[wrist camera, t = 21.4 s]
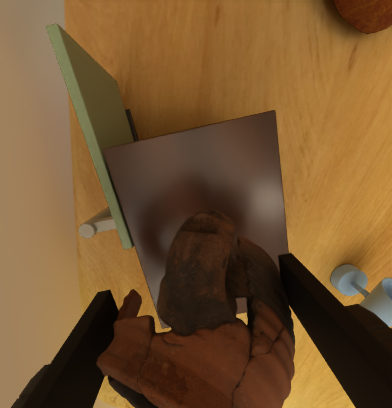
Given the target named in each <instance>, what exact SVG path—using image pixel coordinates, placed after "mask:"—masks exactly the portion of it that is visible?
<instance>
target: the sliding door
mask: <svg viewBox="0 0 392 408" xmlns="http://www.w3.org/2000/svg"><path fill="white" fill-rule="evenodd" d="M46 29H47V31H48V34H49V37H50V40H51V43H52V45H53V49H54V51H55V54H56V57H57V60H58V63H59V66H60V68H61V71H62V74H63V77H64V80H65V83H66V86H67V89H68V91H69V94H70V97H71V100H72V103H73V106H74V108H75V111H76V114H77V117H78V120H79V123H80V126H81V128H82V131H83V134H84V137H85V140H86V143H87V146H88V148H89V151H90V154H91V157H92V160H93V163H94V166H95V168H96V171H97V174H98V177H99V180H100V183H101V186H102V188H103V191H104V194H105V197H106V200H107V203H108V206H109V207H108V208H106V209H104V210H103V211H101V212H100V213H98V214H97V215H95V216H94V217H92V218H91V219H89V220H88V221H86V222H85V223H83V224H82V225H80V227H79V230H78V231H79V234H80V235H81V236H82V237H84V238H91V237H93V236H94V235H95V234H96V233H98V232H103V231H108V230H112V229H117V231H118V234H119V237H120V240H121V243H122V245H123V248H124V249H129V248H132V247H133V246H134V243H133V240H132V236H131V233H130V230H129V227H128V224H127V221H126V218H125V215H124V212H123V209H122V206H121V203H120V200H119V197H118V194H117V191H116V188H115V185H114V182H113V179H112V176H111V173H110V170H109V167H108V164H107V161H106V158H105V155H104V152H103V149H104V148H108V147H112V146H117V145H121V144H126V143H130V142H134V140H133V136H132V133H131V129H130V126H129V122H128V119H127V115H126V112H125V108H124V105H123V101H122V98H121V94H120V91H119V87H118V84H117V81H116V80H115V79H114V78H113V77H112V76H111V75H110V74H109V73H108V72H107V71H106V70H105V69H104V68H103V67H102V66H100V65H99V64H98V63H97V62H96V61H95V60H94V59H93V58H92V57H91V56H90V55H89V54H88V53H87V52H86V51H85V50H84V49H83V48H82V47H81V46H80V45H79V44H78V43H77V42H76V41H75V40H74V39H73V38H72V37H71V36H70V35H68V34H67V33H66V32H65V31H64V30H63V29H62V28H61V27H60V26H59V25H58V24H52V25H48V26H46Z"/></svg>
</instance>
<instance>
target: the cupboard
mask: <svg viewBox="0 0 392 408" xmlns="http://www.w3.org/2000/svg"><path fill="white" fill-rule="evenodd" d="M125 112H126V115H127V119H128V122H129V126H130V129H131V133H132V136H133V140H134V142H130V143H126V144H121V145H117V146H112V147H108V148H104V149H103V152H104V155H105V158H106V161H107V164H108V167H109V170H110V173H111V176H112V179H113V182H114V185H115V188H116V191H117V194H118V197H119V200H120V203H121V206H122V209H123V212H124V215H125V218H126V221H127V224H128V227H129V230H130V233H131V236H132V240H133V243H134V246H135V249H136V252H137V255H138V258H139V261H140V264H141V267H142V270H143V273H144V276H145V279H146V282H147V285H148V288H149V291H150V294H151V297H152V300H153V303H154V306H155V309H156V312H157V301H158V296H159V289H160V282H161V280H162V278H163V277H164V276H165V271H166V264H167V258H168V254H169V249H170V247H171V244H172V242H173V239H174V237H175V235H176V233H177V232H178V230H179V229H180V227H181V226H182V224H183V223H184V222H185V221H186V220H187V219H188V218H189V217H191V216H193V215H194V214H195V213H197V212H201V211H202V212H203V211H207V212H210V211H213V210H216V211H220V212H222V213H223V214H224V215H225V216H227V217H228V218H230V219H231V220H233V221H234V222H235V225H236V230H235V236H234V241H235V243H236V245H237V239H238V237H240V236H242V237H244V238H246V239H248V240H250V241H251V242H253V243H255V244H256V245H258V246H260V247H261V248H262V249H263V250H265V252H267V253H268V255H269V256H270V257H271V258H272V260H273V261H274V262H275V264H276V265H277V268H278V270H279V272H280V269H279V260H278V255H283V254H288V253H289V251H288V241H287V230H286V219H285V208H284V198H283V187H282V176H281V166H280V155H279V144H278V134H277V123H276V112H275V110H272V111H267V112H263V113H259V114H254V115H250V116H245V117H241V118H236V119H232V120H228V121H223V122H219V123H214V124H210V125H205V126H201V127H197V128H192V129H188V130H183V131H179V132H174V133H170V134H166V135H161V136H157V137H152V138H148V139H143V140H139V141H138V137H137V134H136V130H135V127H134V123H133V119H132V116H131V112H130V110H129V109H128V110H125ZM236 302H237V307H238V310H237V313H236V314H240V313H245V312H247V300H246V298H237V299H236ZM157 315H158V312H157ZM158 318H159V315H158ZM159 321H160V324H161V327H162V329H164V328H169V326H168V325H166V324H164V323H163V321H162V320H161V319H160V318H159Z"/></svg>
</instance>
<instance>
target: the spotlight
mask: <svg viewBox="0 0 392 408" xmlns="http://www.w3.org/2000/svg"><path fill="white" fill-rule="evenodd" d="M367 281H368V279H367V276H366V274H365V273H364V272H362V271H361V270H359V269H358V268H356V267H355V266H353V265H350V264H345V265H341V266H339V267H338V268H336V269H335V270H334V271H333V273H332V275H331V283H332V285H333V286H334V287H335V288H336V289H337V290H339V291H340V292H341V293H342V294H344V295H347V296H352V295H356V294H358V293H361V294H362V295H364V297H365V299H364V300H363V301H362V302H361V303H360V304H359V305H361V306H362V307H364V308H366V309H368V310H370V311H371V312H373V313H375V314H376V315H377V316H378V317H379V318H380V319H381V320H383V321H384V322H385V323H386V324H387V325H388V327H390V326H392V278H384V279H383V280H382V281H381V282H380V283H379V284H378V285H377V286H376V287H375V288H374V289H373V290H372V291H371V293H369V292H367V291H366V290H365V289H364V288H365V287H366V285H367Z"/></svg>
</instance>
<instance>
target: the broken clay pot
mask: <svg viewBox="0 0 392 408" xmlns="http://www.w3.org/2000/svg"><path fill="white" fill-rule="evenodd" d="M235 230H236V225H235V222H234V221H233V220H231V219H230V218H228V217H227V216H225V215H224V214H223V213H222V212H220V211H216V210H213V211H210V212H207V211H203V212H202V211H201V212H197V213H195V214H194V215H193V216H191V217H189V218H188V219H187V220H186V221H185V222H184V223H183V224H182V226H181V227H180V229H179V230H178V232H177V233H176V235H175V237H174V239H173V242H172V244H171V247H170V249H169V254H168V258H167V264H166V271H165V276H164V277H163V278H162V280H161V282H160V289H159V296H158V301H157V312H158V315H159V318H160V319H161V320H162V321H163V323H164V324H166V325H168V326H169V327H171V329H172V330H170V331H169V332H161V333H156V332H155V322H154V318H153V317H152V316H149V315H145V316H140V317H137V315H138V312H139V309H140V306H141V303H142V298H141V296H140V295H139V294H138V293H137V292H136V291H135V290H134V289H132V290H131V291H130V293H129V294H128V295H127V296H126V297H125V298H124V302H123V305H122V307H121V308H120V310H119V314H118V318H117V321H116V322H115V323H114V325H113V328H114V339H113V341H112V342H111V344H110V345H109V347H108V348H107V349H106V350H105V351H104V352H103V353H102V354H101V355H100V356H99V357H98V358H97V363H96V364H97V366H98V367H99V368H100V369H101V371H102V373H103V375H104V376H107V375H108V380H109V384H110V385H111V387H113V389H114V390H115V391H116V392H118V393H119V394H120V395H121V396H122V397H123V398H126V399H127V400H128V401H129V403H130V404H131V405H132V406H134V407H135V408H282V406H283V403H284V400H285V399H286V398H287V397H288V396H289V394H290V391H291V380H292V378H293V376H294V362H293V359H294V354H295V347H294V346H295V335H294V331H293V328H294V324H293V320H292V318H291V310H290V308H289V300H288V297H287V295H286V293H285V289H284V287H283V285H282V281H281V278H280V272H279V270H278V268H277V265H276V264H275V262H274V261H273V260H272V258H271V257H270V256H269V255H268V253H267V252H265V250H263V249H262V248H261V247H260V246H258V245H256V244H255V243H253V242H251V241H250V240H248V239H246V238H244V237H242V236H240V237H238V239H237V245H236V243H235V241H234V236H235ZM237 298H246V300H247V317H248V324H247V325H246V324H245V323H244V322H243V321H242V320H241V319H239V318H236V313H237V310H238V307H237V302H236V299H237Z"/></svg>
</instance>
